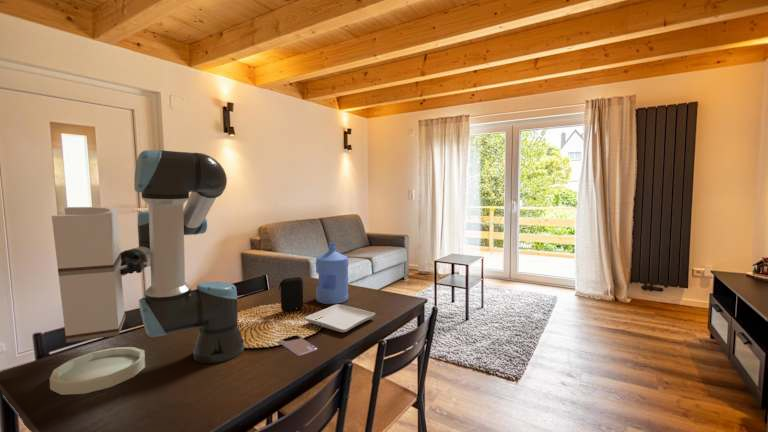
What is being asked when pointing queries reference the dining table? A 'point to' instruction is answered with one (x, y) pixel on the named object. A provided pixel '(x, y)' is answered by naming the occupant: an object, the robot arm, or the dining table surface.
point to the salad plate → (340, 317)
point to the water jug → (332, 277)
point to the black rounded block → (291, 294)
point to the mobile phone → (297, 345)
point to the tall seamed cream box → (89, 272)
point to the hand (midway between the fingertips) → (86, 275)
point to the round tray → (97, 370)
